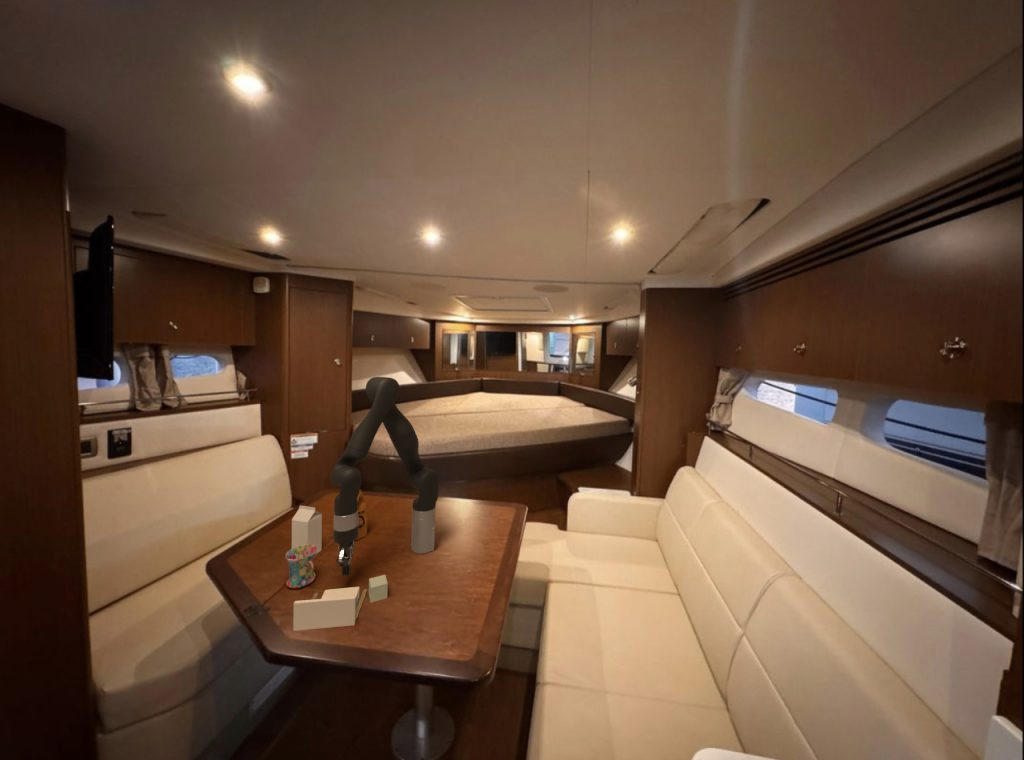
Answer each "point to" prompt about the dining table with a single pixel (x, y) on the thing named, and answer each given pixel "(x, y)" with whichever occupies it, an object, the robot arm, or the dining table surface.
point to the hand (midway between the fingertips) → (346, 574)
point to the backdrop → (324, 613)
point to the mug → (300, 565)
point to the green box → (378, 588)
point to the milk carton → (307, 528)
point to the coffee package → (362, 516)
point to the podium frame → (357, 605)
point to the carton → (342, 593)
